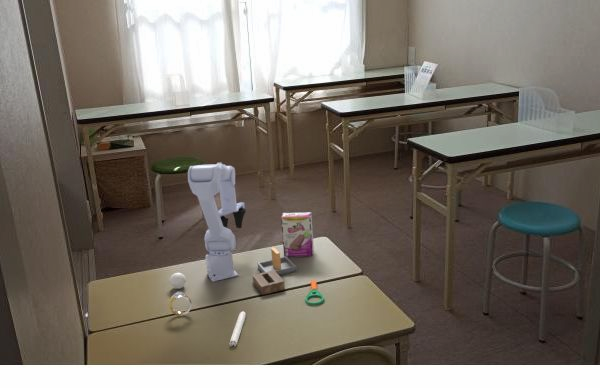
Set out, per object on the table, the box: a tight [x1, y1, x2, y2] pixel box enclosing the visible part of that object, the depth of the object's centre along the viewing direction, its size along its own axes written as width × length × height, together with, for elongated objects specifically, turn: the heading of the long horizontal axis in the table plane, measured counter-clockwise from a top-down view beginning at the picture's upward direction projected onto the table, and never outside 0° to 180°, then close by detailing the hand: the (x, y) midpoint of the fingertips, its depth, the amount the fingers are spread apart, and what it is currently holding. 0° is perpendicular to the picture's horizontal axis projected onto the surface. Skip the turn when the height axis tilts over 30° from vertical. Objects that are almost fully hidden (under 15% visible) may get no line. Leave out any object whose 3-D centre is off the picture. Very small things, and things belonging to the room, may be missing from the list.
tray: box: [257, 255, 297, 276], centre depth 214 cm, size 11×10×2 cm
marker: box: [229, 310, 247, 347], centre depth 176 cm, size 18×2×2 cm, turn 176°
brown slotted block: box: [251, 270, 286, 296], centre depth 201 cm, size 8×10×3 cm
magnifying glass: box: [304, 280, 325, 306], centre depth 194 cm, size 15×6×2 cm, turn 0°
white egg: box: [167, 272, 187, 290], centre depth 205 cm, size 8×6×6 cm
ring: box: [167, 291, 192, 317], centre depth 186 cm, size 7×3×8 cm, turn 87°
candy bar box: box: [280, 211, 315, 258], centre depth 223 cm, size 11×5×16 cm, turn 84°
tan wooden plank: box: [270, 247, 281, 270], centre depth 213 cm, size 1×6×7 cm, turn 22°
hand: (232, 230), depth 225 cm, fingers open, 7 cm apart
